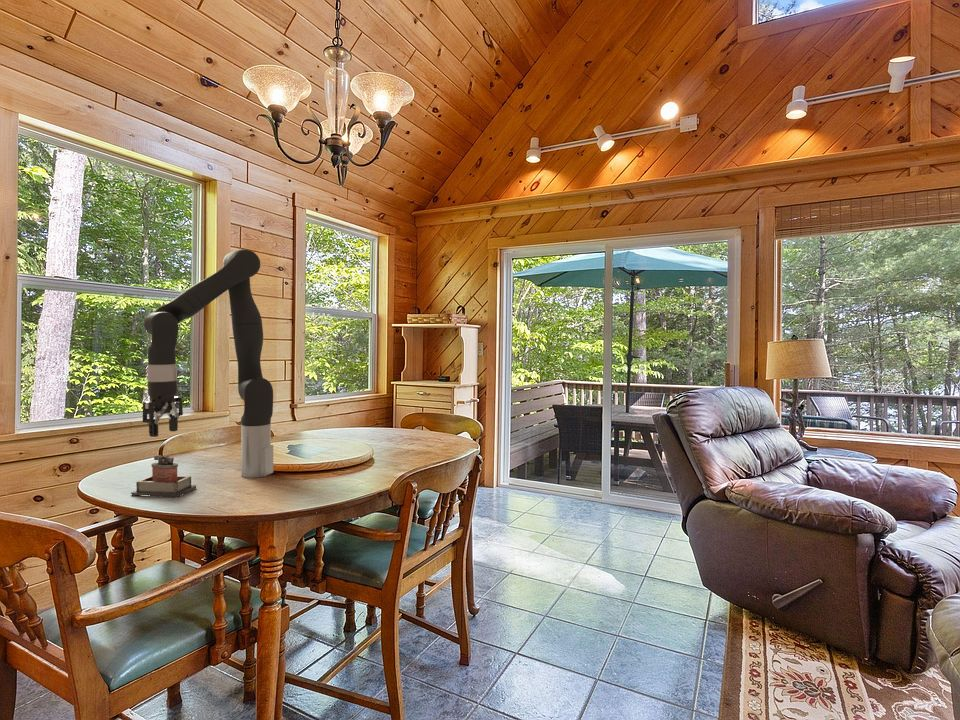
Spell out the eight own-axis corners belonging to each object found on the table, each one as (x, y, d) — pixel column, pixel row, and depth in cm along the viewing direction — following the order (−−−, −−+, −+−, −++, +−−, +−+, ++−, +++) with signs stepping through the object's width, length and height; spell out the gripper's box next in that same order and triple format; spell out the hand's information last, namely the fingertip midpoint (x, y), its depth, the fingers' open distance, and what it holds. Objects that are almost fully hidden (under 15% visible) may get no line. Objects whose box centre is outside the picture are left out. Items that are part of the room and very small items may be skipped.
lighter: (181, 487, 155) (180, 455, 155) (172, 491, 152) (172, 457, 151) (157, 486, 156) (157, 453, 156) (148, 489, 153) (148, 456, 153)
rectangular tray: (152, 487, 159) (152, 474, 159) (196, 488, 158) (196, 475, 158) (131, 495, 150) (130, 482, 150) (177, 497, 149) (176, 483, 149)
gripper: (158, 381, 145) (159, 438, 146) (189, 377, 159) (191, 429, 160) (132, 381, 145) (134, 438, 146) (166, 377, 160) (168, 429, 160)
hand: (164, 433), depth 153 cm, fingers open, 8 cm apart
